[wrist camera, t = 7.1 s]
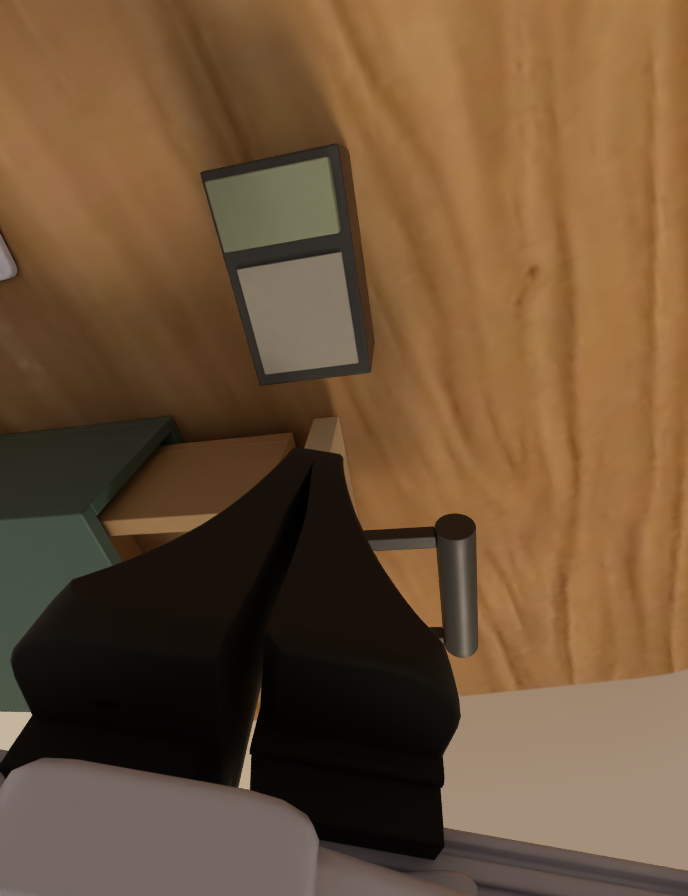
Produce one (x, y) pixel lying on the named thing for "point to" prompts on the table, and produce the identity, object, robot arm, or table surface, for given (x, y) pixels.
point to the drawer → (237, 471)
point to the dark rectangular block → (295, 262)
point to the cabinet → (59, 517)
